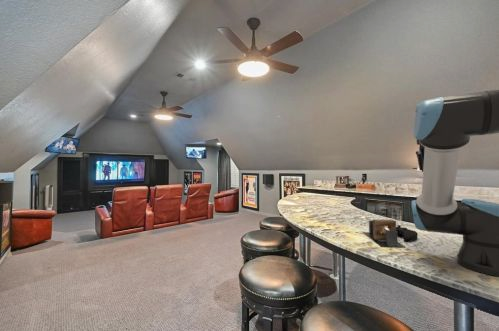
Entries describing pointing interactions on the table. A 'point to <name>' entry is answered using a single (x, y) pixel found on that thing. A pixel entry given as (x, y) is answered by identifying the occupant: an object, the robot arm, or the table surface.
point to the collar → (377, 228)
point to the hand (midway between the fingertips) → (427, 185)
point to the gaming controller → (406, 233)
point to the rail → (390, 236)
